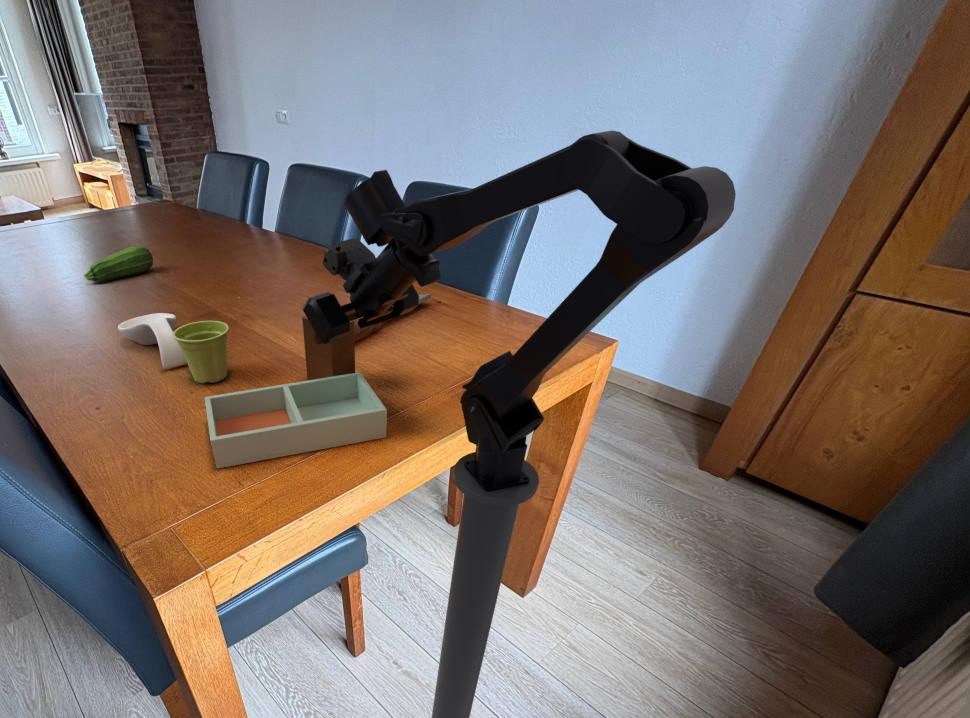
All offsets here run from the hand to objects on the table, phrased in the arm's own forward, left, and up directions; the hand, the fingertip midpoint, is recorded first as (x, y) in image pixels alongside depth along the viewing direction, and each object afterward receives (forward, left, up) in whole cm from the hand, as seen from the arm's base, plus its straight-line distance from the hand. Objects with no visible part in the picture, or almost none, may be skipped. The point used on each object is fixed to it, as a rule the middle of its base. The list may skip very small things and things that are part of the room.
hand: (338, 333), depth 81 cm
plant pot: (+12, +21, -10) cm, 26 cm away
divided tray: (-11, +10, -10) cm, 18 cm away
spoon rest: (+29, +30, -10) cm, 43 cm away
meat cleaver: (+27, -14, -10) cm, 32 cm away
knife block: (+2, +1, -10) cm, 10 cm away
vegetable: (+87, +41, -10) cm, 97 cm away
